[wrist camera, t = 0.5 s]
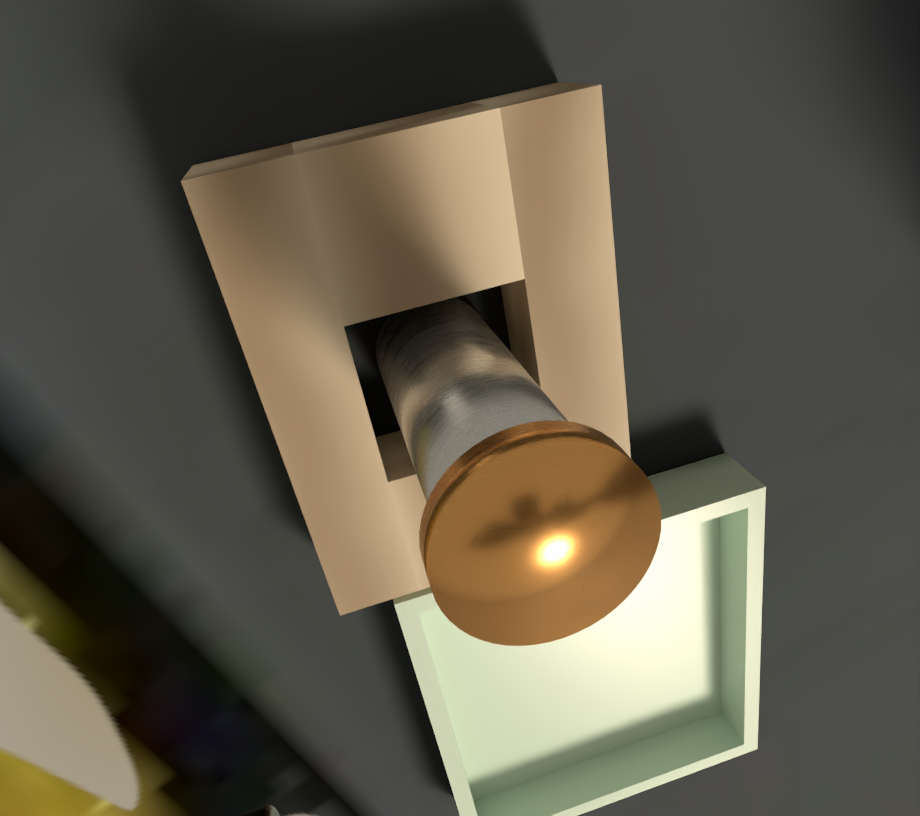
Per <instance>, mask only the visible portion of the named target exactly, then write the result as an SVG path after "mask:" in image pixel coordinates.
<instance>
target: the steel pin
mask: <svg viewBox="0 0 920 816" xmlns="http://www.w3.org/2000/svg"><path fill="white" fill-rule="evenodd" d="M376 360H377V365H378V368H379V371H380V373H381V376H382V379H383V382H384V385H385V387H386V390H387V393H388V396H389V399H390V401H391V404H392V407H393V410H394V413H395V415H396V418H397V421H398V424H399V426H400V429H401V432H402V435H403V438H404V440H405V443H406V446H407V449H408V452H409V454H410V457H411V460H412V463H413V466H414V468H415V471H416V474H417V477H418V480H419V482H420V485H421V488H422V491H423V494H424V496H425V499H426V502H427V503H426V505H425V507H424V511H423V514H422V518H421V523H420V530H419V547H420V552H421V557H422V561H423V564H424V568H425V571H426V574H427V577H428V581H429V584H430V587H431V590H432V593H433V596H434V598H435V601H436V603H437V604H438V606H439V608H440V610H441V611H442V612H443V614H444V615H445V616H446V617H447V618H448V620H449V621H450V622H452V623H453V624H454V625H455V626H456V627H457V628H459V629H460V630H462V631H463V632H465V633H467V634H468V635H470V636H472V637H475V638H477V639H480V640H482V641H486V642H490V643H493V644H500V645H506V646H527V645H537V644H542V643H548V642H552V641H555V640H559V639H562V638H565V637H568V636H570V635H573V634H575V633H578V632H580V631H582V630H584V629H586V628H588V627H590V626H591V625H593V624H594V623H596V622H598V621H599V620H601V619H603V618H604V617H605V616H607V615H608V614H609V613H611V612H612V611H613V610H614V609H616V608H617V607H618V606H619V605H620V604H621V603H622V602H623V601H624V600H625V599H626V598H627V597H628V596H629V595H630V594H631V593H632V592H633V591H634V589H635V588H636V587H637V585H638V584H639V583H640V581H641V580H642V579H643V577H644V575H645V574H646V572H647V570H648V569H649V567H650V565H651V563H652V560H653V558H654V556H655V553H656V550H657V547H658V544H659V539H660V533H661V509H660V503H659V500H658V497H657V493H656V491H655V489H654V487H653V485H652V483H651V481H650V480H649V479H648V477H647V476H646V475H645V473H644V472H643V471H642V470H641V469H640V468H639V467H638V465H637V464H636V463H635V462H634V461H633V460H632V459H631V458H630V457H629V456H628V455H627V453H626V452H625V451H624V450H623V449H622V448H621V447H620V446H619V445H618V444H617V443H616V442H615V441H614V440H613V439H611V438H610V437H608V436H607V435H605V434H604V433H602V432H600V431H598V430H596V429H594V428H592V427H589V426H586V425H583V424H579V423H575V422H569V421H568V420H567V419H566V418H565V417H564V416H563V414H562V413H561V412H560V411H559V410H558V408H557V407H556V406H555V405H554V404H553V402H552V401H551V400H550V399H549V398H548V396H547V395H546V394H545V393H544V392H543V390H542V389H541V388H540V387H539V386H538V385H537V383H536V382H535V381H534V380H533V379H532V377H531V376H530V375H529V374H528V373H527V371H526V370H525V369H524V368H523V367H522V365H521V364H520V363H519V362H518V361H517V359H516V358H515V357H514V356H513V355H512V353H511V352H510V351H509V350H508V349H507V347H506V346H505V345H504V344H503V343H502V341H501V340H500V339H499V338H498V337H497V335H496V334H495V333H494V332H493V331H492V329H491V328H490V327H489V326H488V325H487V323H486V322H485V321H484V320H483V319H482V317H481V316H480V315H479V314H478V313H477V311H476V310H475V309H474V308H473V307H472V306H471V305H469V304H468V303H466V302H465V301H463V300H461V299H459V298H457V297H454V298H450V299H446V300H443V301H439V302H435V303H431V304H427V305H424V306H420V307H416V308H412V309H408V310H405V311H401V312H397V313H393V314H390V315H389V316H388V317H387V319H386V320H385V321H384V323H383V325H382V327H381V329H380V331H379V334H378V337H377V342H376Z"/></svg>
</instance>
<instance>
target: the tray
mask: <svg viewBox="0 0 920 816" xmlns="http://www.w3.org/2000/svg"><path fill="white" fill-rule="evenodd" d="M648 479H649V480H650V481H651V483H652V485H653V487H654V489H655V491H656V493H657V497H658V500H659V503H660V509H661V533H660V539H659V544H658V547H657V550H656V553H655V556H654V558H653V560H652V563H651V565H650V567H649V569H648V570H647V572H646V574H645V575H644V577H643V579H642V580H641V581H640V583H639V584H638V585H637V587H636V588H635V589H634V591H633V592H632V593H631V594H630V595H629V596H628V597H627V598H626V599H625V600H624V601H623V602H622V603H621V604H620V605H619V606H618V607H617V608H616V609H614V610H613V611H612V612H611V613H609V614H608V615H607V616H605V617H604V618H603V619H601V620H599V621H598V622H596V623H594V624H593V625H591V626H590V627H588V628H586V629H584V630H582V631H580V632H578V633H575V634H573V635H570V636H568V637H565V638H562V639H559V640H555V641H552V642H548V643H542V644H537V645H527V646H506V645H500V644H493V643H490V642H486V641H482V640H480V639H477V638H475V637H472V636H470V635H468V634H467V633H465V632H463V631H462V630H460V629H459V628H457V627H456V626H455V625H454V624H453V623H452V622H450V621H449V620H448V618H447V617H446V616H445V615H444V614H443V612H442V611H441V610H440V608H439V606H438V604H437V603H436V601H435V598H434V596H433V593H432V590H431V587H429V588H426V589H423V590H419V591H416V592H413V593H410V594H407V595H404V596H400V597H397V598H394V599H393V602H394V606H395V609H396V612H397V616H398V619H399V622H400V625H401V628H402V632H403V635H404V638H405V641H406V644H407V648H408V651H409V654H410V657H411V660H412V664H413V667H414V670H415V673H416V676H417V680H418V683H419V686H420V689H421V692H422V696H423V699H424V702H425V705H426V708H427V712H428V715H429V718H430V721H431V724H432V728H433V731H434V734H435V737H436V740H437V744H438V747H439V750H440V753H441V756H442V760H443V763H444V766H445V769H446V772H447V776H448V779H449V782H450V785H451V788H452V792H453V795H454V798H455V801H456V804H457V808H458V811H459V814H460V816H577V815H580V814H583V813H586V812H588V811H591V810H594V809H596V808H599V807H602V806H605V805H607V804H610V803H613V802H615V801H618V800H621V799H623V798H626V797H629V796H632V795H634V794H637V793H640V792H642V791H645V790H648V789H651V788H653V787H656V786H659V785H661V784H664V783H667V782H669V781H672V780H675V779H678V778H680V777H683V776H686V775H688V774H691V773H694V772H696V771H699V770H702V769H705V768H707V767H710V766H713V765H715V764H718V763H721V762H724V761H726V760H729V759H732V758H734V757H737V756H740V755H742V754H745V753H748V752H751V751H753V750H756V749H757V747H758V715H759V684H760V652H761V621H762V589H763V558H764V527H765V495H766V487H765V486H764V485H763V484H762V483H761V482H760V481H758V480H757V479H756V478H755V477H754V476H752V475H751V474H750V473H749V472H748V471H747V470H745V469H744V468H743V467H742V466H741V465H740V464H738V463H737V462H736V461H735V460H734V459H733V458H731V457H730V456H729V455H728V454H727V453H723V454H719V455H716V456H713V457H710V458H706V459H703V460H700V461H697V462H693V463H690V464H687V465H684V466H681V467H677V468H674V469H671V470H668V471H664V472H661V473H658V474H655V475H651V476H648Z"/></svg>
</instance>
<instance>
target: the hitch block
mask: <svg viewBox="0 0 920 816" xmlns="http://www.w3.org/2000/svg"><path fill="white" fill-rule="evenodd" d="M181 183H182V186H183V189H184V191H185V194H186V197H187V199H188V202H189V205H190V208H191V210H192V213H193V216H194V219H195V221H196V224H197V227H198V229H199V232H200V235H201V238H202V240H203V243H204V246H205V249H206V251H207V254H208V257H209V259H210V262H211V265H212V268H213V270H214V273H215V276H216V279H217V281H218V284H219V287H220V289H221V292H222V295H223V298H224V300H225V303H226V306H227V308H228V311H229V314H230V317H231V319H232V322H233V325H234V328H235V330H236V333H237V336H238V338H239V341H240V344H241V347H242V349H243V352H244V355H245V358H246V360H247V363H248V366H249V368H250V371H251V374H252V377H253V379H254V382H255V385H256V388H257V390H258V393H259V396H260V398H261V401H262V404H263V407H264V409H265V412H266V415H267V418H268V420H269V423H270V426H271V428H272V431H273V434H274V437H275V439H276V442H277V445H278V448H279V450H280V453H281V456H282V458H283V461H284V464H285V467H286V469H287V472H288V475H289V478H290V480H291V483H292V486H293V488H294V491H295V494H296V497H297V499H298V502H299V505H300V508H301V510H302V513H303V516H304V518H305V521H306V524H307V527H308V529H309V532H310V535H311V538H312V540H313V543H314V546H315V548H316V551H317V554H318V557H319V559H320V562H321V565H322V568H323V570H324V573H325V576H326V578H327V581H328V584H329V587H330V589H331V592H332V595H333V598H334V600H335V603H336V606H337V608H338V611H339V614H340V615H344V614H347V613H350V612H353V611H356V610H359V609H363V608H366V607H369V606H372V605H375V604H378V603H381V602H385V601H388V600H391V599H394V598H397V597H400V596H404V595H407V594H410V593H413V592H416V591H419V590H423V589H426V588H429V587H430V584H429V581H428V577H427V574H426V571H425V568H424V564H423V561H422V557H421V552H420V547H419V530H420V523H421V518H422V514H423V511H424V507H425V505H426V503H427V502H426V499H425V496H424V494H423V491H422V488H421V485H420V482H419V480H418V477H417V474H416V471H415V468H414V466H413V463H412V460H411V457H410V454H409V452H408V449H407V446H406V443H405V440H404V438H403V435H402V432H401V430H399V431H396V432H392V433H389V434H385V435H382V436H378V437H375V434H374V431H373V427H372V424H371V420H370V417H369V413H368V410H367V406H366V403H365V399H364V396H363V392H362V389H361V385H360V382H359V378H358V375H357V371H356V368H355V364H354V361H353V357H352V354H351V350H350V347H349V343H348V340H347V336H346V333H345V329H344V326H348V325H351V324H355V323H359V322H363V321H367V320H370V319H374V318H378V317H382V316H386V315H389V314H393V313H397V312H401V311H405V310H408V309H412V308H416V307H420V306H424V305H427V304H431V303H435V302H439V301H443V300H446V299H450V298H454V297H458V296H462V295H465V294H469V293H473V292H477V291H481V290H484V289H488V288H492V287H496V286H501V292H502V299H503V305H504V311H505V317H506V323H507V329H508V335H509V341H510V347H511V353H512V355H513V356H514V357H515V358H516V359H517V361H518V362H519V363H520V364H521V365H522V367H523V368H524V369H525V370H526V371H527V373H528V374H529V375H530V376H531V377H532V379H533V380H534V381H535V382H536V383H537V385H538V386H539V387H540V388H541V389H542V390H543V392H544V393H545V394H546V395H547V396H548V398H549V399H550V400H551V401H552V402H553V404H554V405H555V406H556V407H557V408H558V410H559V411H560V412H561V413H562V414H563V416H564V417H565V418H566V419H567V420H568V421H569V422H575V423H579V424H583V425H586V426H589V427H592V428H594V429H596V430H598V431H600V432H602V433H604V434H605V435H607V436H608V437H610V438H611V439H613V440H614V441H615V442H616V443H617V444H618V445H619V446H620V447H621V448H622V449H623V450H624V451H625V452H626V453H627V455H628V456H629V457H630V458H631V452H630V439H629V426H628V414H627V401H626V389H625V376H624V364H623V351H622V339H621V326H620V314H619V301H618V289H617V276H616V264H615V251H614V239H613V226H612V213H611V201H610V188H609V176H608V163H607V151H606V138H605V126H604V113H603V101H602V88H601V85H600V84H584V83H568V82H557V83H553V84H548V85H544V86H539V87H535V88H530V89H526V90H522V91H517V92H513V93H508V94H504V95H500V96H495V97H491V98H486V99H482V100H478V101H473V102H469V103H464V104H460V105H456V106H451V107H447V108H442V109H438V110H434V111H429V112H425V113H420V114H416V115H412V116H407V117H403V118H398V119H394V120H390V121H385V122H381V123H376V124H372V125H368V126H363V127H359V128H354V129H350V130H346V131H341V132H337V133H332V134H328V135H324V136H319V137H315V138H310V139H306V140H301V141H297V142H293V143H288V144H284V145H279V146H275V147H271V148H266V149H262V150H257V151H253V152H249V153H244V154H240V155H235V156H231V157H227V158H222V159H218V160H213V161H209V162H205V163H200V164H196V165H193V166H192V167H191V168H190V170H189V171H188V172H187V174H186V175H185V176H184V177H183V179H182V180H181Z"/></svg>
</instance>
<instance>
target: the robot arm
mask: <svg viewBox="0 0 920 816" xmlns="http://www.w3.org/2000/svg"><path fill="white" fill-rule="evenodd" d="M239 816H280V815H279V813H278V811H277V810H276V808H275V807H274V806H272V805H270V804H267V805H264V806H261V807H258V808H255V809H252V810H249V811H246V812H244V813H242V814H240V815H239Z"/></svg>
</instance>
